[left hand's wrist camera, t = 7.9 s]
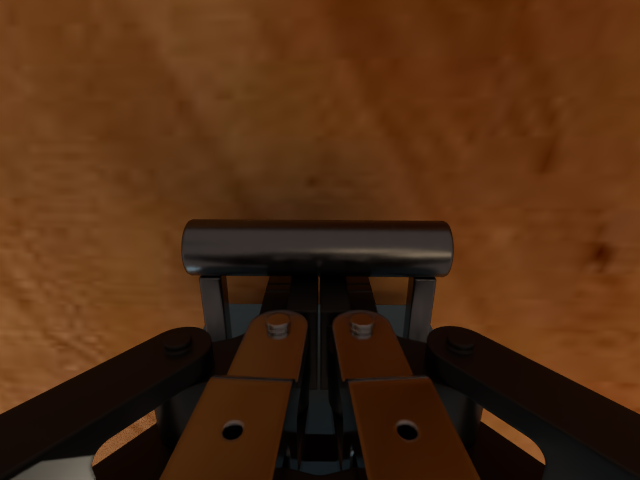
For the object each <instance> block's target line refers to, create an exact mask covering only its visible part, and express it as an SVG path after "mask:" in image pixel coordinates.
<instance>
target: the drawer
mask: <svg viewBox="0 0 640 480" xmlns="http://www.w3.org/2000/svg"><path fill="white" fill-rule="evenodd" d="M181 253H182V261H183V265H184V268H185V270H186V272H187V273H188V274H190V275H194V276H200V278H199V282H200V289H201V297H202V305H203V313H204V320H205V326H204V328H203V330H205V331H207V332H208V333H209V334H210V336H211V338H212V342H216V341H221V340H226V339H230V338H234V337H237V336H240V335H242V334H244V333H245V332H246V330H247V328H248V326H249V323H250V322H251V321H252V319H253V318H255V317H256V316H258V315H259V313H260V310H261V306H262V304H229V300H228V290H227V279H226V276H338V277H409V281H408V291H407V300H406V305H376V307H377V311H378V314H381V315H382V316H384V317H385V318H387V319H388V321H389V322H390V323H391V325H392V328H393V330H394V332H395V335H397V336H400V337H403V338H406V339H410V340H415V341H420V342H425V343H426V342H427V336H428V334H429V333H430V332H431V331H432V330H433V329H432V327H431V325H430V322H431V315H432V308H433V300H434V293H435V286H436V278H435V277H445V276H447V275H448V273H449V272H450V269H451V266H452V262H453V254H454V244H453V237H452V232H451V229H450V227H449V225H448V223H446V222H444V221H376V220H225V219H192V220H190V221H188V223H187V224H186V226H185V228H184V231H183V236H182V244H181ZM156 423H157V422H156ZM302 472H306V473H310V474H314V475H326V474H330V473H334V472H338V469H337V461H336V453H335V445H334V438H333V430H332V422H331V406H330V404H329V400H328V390H320V304H318V375H317V390H309V422H308V430H307V438H306V446H305V453H304V461H303V469H302Z"/></svg>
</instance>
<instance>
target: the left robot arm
mask: <svg viewBox="0 0 640 480" xmlns="http://www.w3.org/2000/svg"><path fill="white" fill-rule="evenodd" d="M317 375H318V276H270V277H269V281H268V285H267V288H266V292H265V295H264V299H263V302H262V306H261V310H260V313H259V315H258V316H256V317H255V318H253V319H252V321H251V322H250V323H249V326H248V328H247V330H246V332H245V333H244V334H242V335H240V336H237V337H234V338H230V339H226V340H221V341H216V342H212V338H211V336H210V334H209V333H208V332H207V331H205V330H203V329H200V328H196V327H181V328H176V329H172V330H169V331H166V332H164V333H161V334H159V335H157V336H155V337H153V338H151V339H149V340H147V341H145V342H143V343H141V344H139V345H137V346H135V347H133V348H131V349H129V350H127V351H125V352H123V353H121V354H120V355H118V356H116V357H114V358H112V359H110V360H108V361H106V362H104V363H102V364H100V365H98V366H96V367H94V368H92V369H90V370H88V371H86V372H84V373H82V374H80V375H78V376H76V377H74V378H72V379H70V380H68V381H66V382H64V383H62V384H60V385H58V386H56V387H54V388H52V389H50V390H48V391H46V392H44V393H42V394H40V395H38V396H36V397H34V398H32V399H30V400H28V401H26V402H24V403H22V404H20V405H18V406H16V407H14V408H12V409H10V410H8V411H6V412H4V413H2V414H0V480H640V414H638V413H636V412H634V411H632V410H630V409H628V408H626V407H624V406H622V405H620V404H618V403H616V402H614V401H612V400H610V399H608V398H606V397H604V396H602V395H600V394H598V393H596V392H594V391H592V390H590V389H588V388H586V387H584V386H582V385H580V384H578V383H576V382H574V381H572V380H570V379H568V378H566V377H564V376H562V375H560V374H558V373H556V372H554V371H552V370H550V369H548V368H546V367H544V366H542V365H540V364H538V363H536V362H534V361H532V360H530V359H528V358H526V357H524V356H522V355H520V354H518V353H517V352H515V351H513V350H511V349H509V348H507V347H505V346H503V345H501V344H499V343H497V342H495V341H493V340H491V339H489V338H487V337H485V336H483V335H481V334H479V333H477V332H474V331H472V330H469V329H466V328H462V327H456V326H444V327H439V328H436V329H434V330H432V331H431V332H430V333H429V334H428V336H427V342H426V343H425V342H420V341H415V340H410V339H406V338H403V337H400V336H397V335H395V332H394V330H393V328H392V325H391V323H390V322H389V321H388V319H387V318H385V317H384V316H382V315H381V314H378V311H377V307H376V304H375V300H374V296H373V293H372V289H371V285H370V281H369V278H368V277H338V276H320V390H328V400H329V404H330V406H331V422H332V430H333V438H334V445H335V453H336V461H337V469H338V472H334V473H330V474H326V475H314V474H310V473H306V472H302V469H303V461H304V453H305V446H306V438H307V430H308V422H309V390H317ZM483 408H485V409H486V410H488V411H489V412H491V413H492V414H494V415H495V416H497V417H498V418H500V419H501V420H503V421H504V422H506V423H507V424H509V425H511V426H512V427H514V428H515V429H517V430H518V431H520V432H521V433H523V434H524V435H526V436H527V437H529V438H530V439H531V440H532V441H534V442H535V443H536V444H537V446H538V447H539V448H540V450H541V451H542V453H543V455H544V458H545V463H546V465H544V464H542V463H541V462H539V461H538V460H537V459H535V458H534V457H532V456H531V455H529V454H528V453H526V452H525V451H523V450H522V449H521V448H519V447H518V446H516V445H515V444H513V443H512V442H510V441H509V440H507V439H506V438H504V437H503V436H502V435H500V434H499V433H497V432H496V431H494V430H493V429H491V428H490V427H488V426H487V425H486V424H484V423H483V422H481V421H480V420H481V415H482V410H483ZM152 410H155V415H156V420H157V423H156V424H154V425H153V426H152V427H150V428H149V429H147V430H146V431H144V432H143V433H141V434H140V435H138V436H137V437H136V438H134V439H133V440H131V441H130V442H128V443H127V444H125V445H124V446H122V447H121V448H119V449H118V450H117V451H115V452H114V453H112V454H111V455H109V456H108V457H106V458H105V459H103V460H102V461H101V462H99V463H98V464H96V465H95V466H93V467H92V461H93V458H94V456H95V454H96V452H97V451H98V449H99V448H100V447H101V446H102V445H103V444H104V443H105V442H106V441H107V440H108V439H110V438H111V437H113V436H114V435H116V434H117V433H119V432H120V431H122V430H123V429H125V428H126V427H128V426H129V425H131V424H132V423H134V422H136V421H137V420H139V419H140V418H142V417H143V416H145V415H146V414H148V413H149V412H151V411H152Z"/></svg>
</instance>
